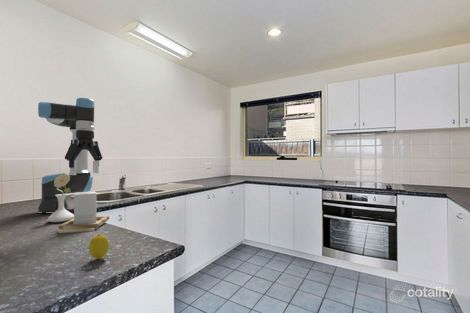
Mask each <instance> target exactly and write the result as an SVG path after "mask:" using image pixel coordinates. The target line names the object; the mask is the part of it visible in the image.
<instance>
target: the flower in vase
mask: <svg viewBox="0 0 470 313" xmlns="http://www.w3.org/2000/svg"><path fill="white" fill-rule="evenodd" d="M60 174H61V173H60ZM68 181H70V176H69V174H67V173H66V172H64V174H61V175H59V176H58V177H56V179H55V180H54V186H56V187H57V190H59V189H58V188H59V187H62V186H65V185H66V184H67V183H68ZM59 191H61V192H63V191H62V190H59ZM64 191H65V192H66V193H67V194H63V193H64V192H63V193H62V194H58V195H55V196H56V197H57V198H58V202H59V207H58V210H57V211H56V212H54V213H51V214H50V216H48V218H47V221H48V222H51V223H62V222H67V221H69V220H71V219H73V218H74V213H72V212H70V211H69V210H66V209H65V208H64V199H66V197H67V195H68V194H69V193H68V192H71V191H70V189H69V188H67V189H66V186H65V190H64Z"/></svg>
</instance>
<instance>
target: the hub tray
mask: <svg viewBox="0 0 470 313" xmlns="http://www.w3.org/2000/svg"><path fill="white" fill-rule="evenodd" d="M109 220H110V215H105V216H104V215H101V216H96V223H87V224H74V218H73V219H71V220H68V221H64V223H62V224H60V225H58V226H57V227H58V230H57V231H58V232H57V233H59V234H60V233H61V234H62V233H63V234H64V233H79V232H82V233H83V232H94V231H96V230H97V229H98V228H100V227H102V225H104V224H105V223H107V221H109ZM99 226H100V227H99Z"/></svg>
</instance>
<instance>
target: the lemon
mask: <svg viewBox="0 0 470 313" xmlns="http://www.w3.org/2000/svg"><path fill="white" fill-rule="evenodd" d="M88 245H89V246H88V251H89V252H88V253H89V254H90V256H91V257H92V258H94V259H97V260H101V259H102V258H103V257H105V255H106V254H107V253H108V251H109V248H110V241H109V239H108V238H107V237H106V235H104V234H101V233H98V234H97V235H95V236H94V237H92V239H91V240H90V241H89V244H88Z"/></svg>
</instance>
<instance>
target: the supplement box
mask: <svg viewBox="0 0 470 313" xmlns="http://www.w3.org/2000/svg"><path fill="white" fill-rule="evenodd" d="M73 215H74V224H87V223H96V217H97V192H96V191H89V192H80V193H73Z"/></svg>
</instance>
